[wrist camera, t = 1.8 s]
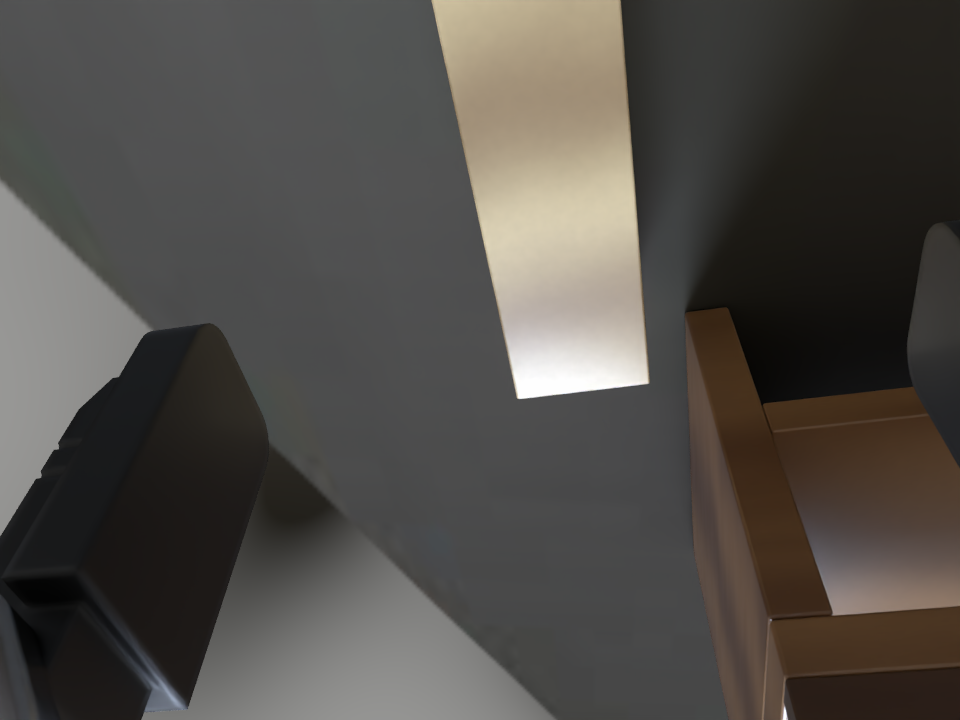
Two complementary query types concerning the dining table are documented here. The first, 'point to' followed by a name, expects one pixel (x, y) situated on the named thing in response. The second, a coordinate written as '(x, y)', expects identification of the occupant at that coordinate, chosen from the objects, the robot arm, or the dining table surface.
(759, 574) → the shelf
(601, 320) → the beech stick
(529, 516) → the dining table surface
